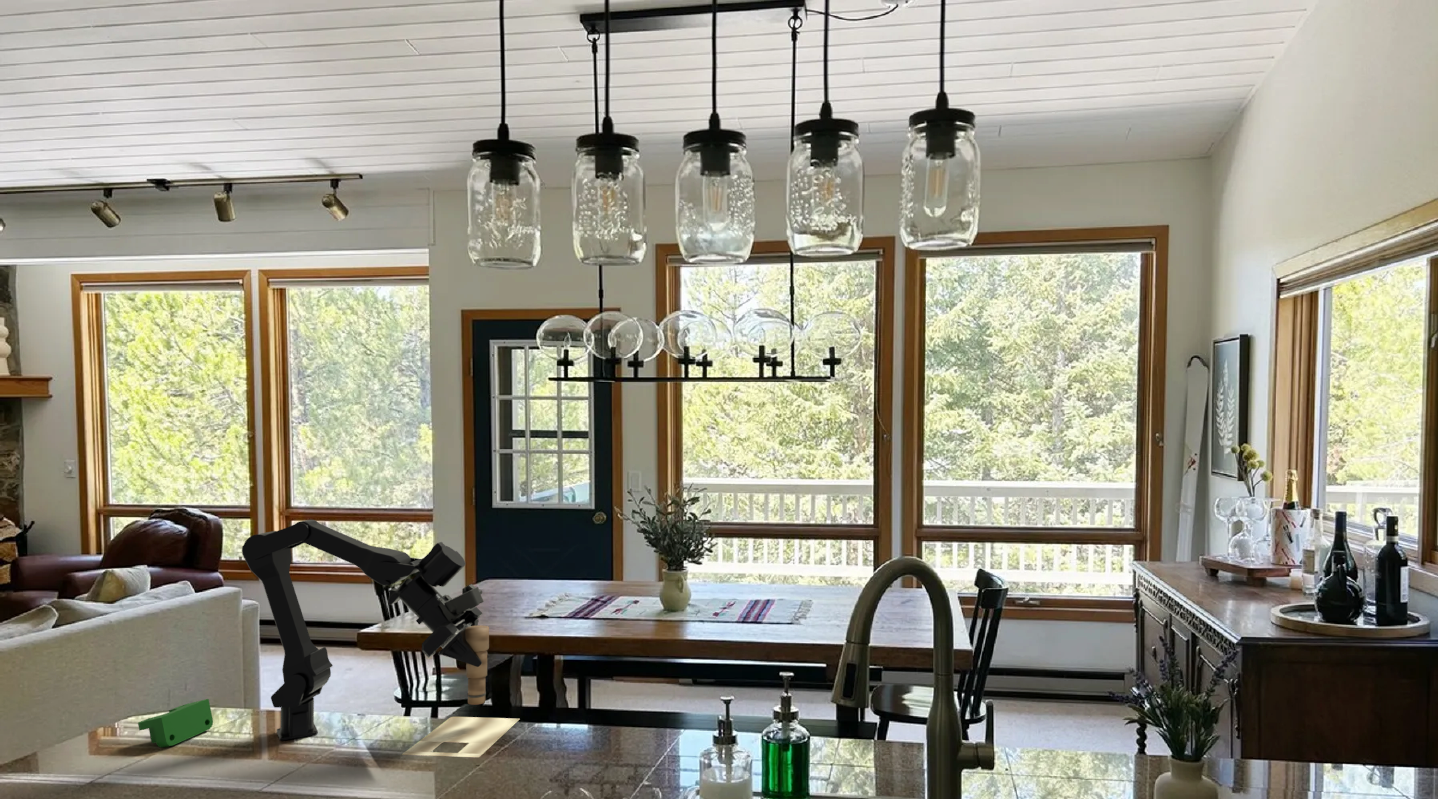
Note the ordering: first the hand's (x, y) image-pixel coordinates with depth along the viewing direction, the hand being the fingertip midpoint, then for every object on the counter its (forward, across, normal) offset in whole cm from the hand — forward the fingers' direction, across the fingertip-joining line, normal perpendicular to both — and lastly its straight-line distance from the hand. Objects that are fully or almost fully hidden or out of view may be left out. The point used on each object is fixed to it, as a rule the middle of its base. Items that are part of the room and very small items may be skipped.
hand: (483, 661), depth 162 cm
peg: (+4, 0, +6) cm, 8 cm away
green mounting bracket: (-31, -2, +51) cm, 60 cm away
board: (+8, -5, +11) cm, 15 cm away
